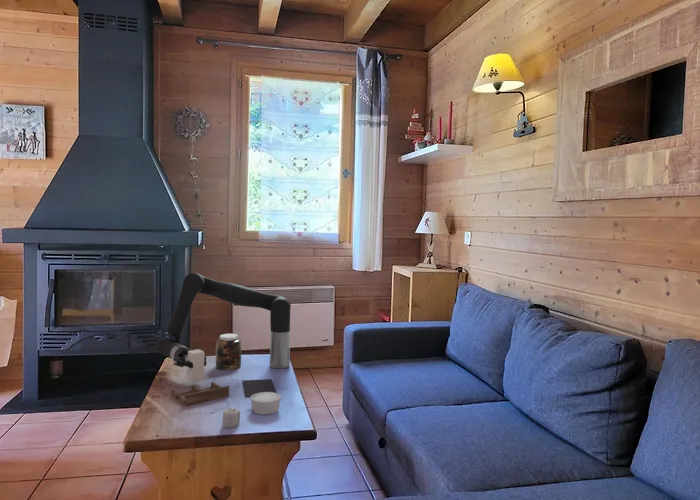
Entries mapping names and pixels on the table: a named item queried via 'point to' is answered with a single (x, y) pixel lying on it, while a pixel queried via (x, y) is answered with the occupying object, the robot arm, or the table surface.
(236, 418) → the die
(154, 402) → the table surface
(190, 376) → the cream block
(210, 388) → the lane rack
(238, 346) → the jar
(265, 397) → the ramekin
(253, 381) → the notebook
